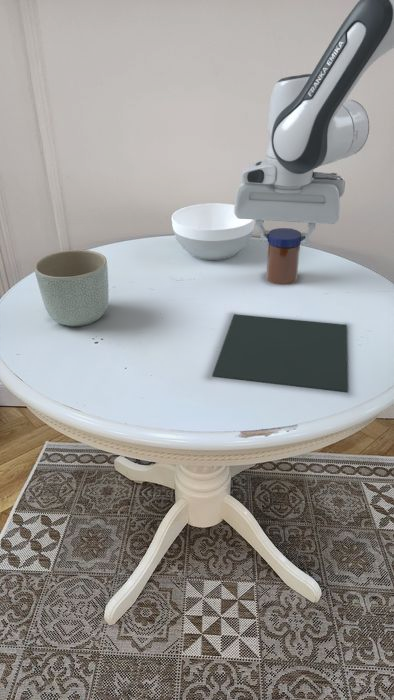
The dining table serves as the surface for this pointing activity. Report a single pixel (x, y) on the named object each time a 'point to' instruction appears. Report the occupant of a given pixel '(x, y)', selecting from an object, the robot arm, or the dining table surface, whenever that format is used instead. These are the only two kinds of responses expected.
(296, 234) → the jam lid
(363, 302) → the dining table surface
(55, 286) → the planter
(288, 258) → the jam jar
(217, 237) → the bowl
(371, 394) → the dining table surface
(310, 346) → the mat
